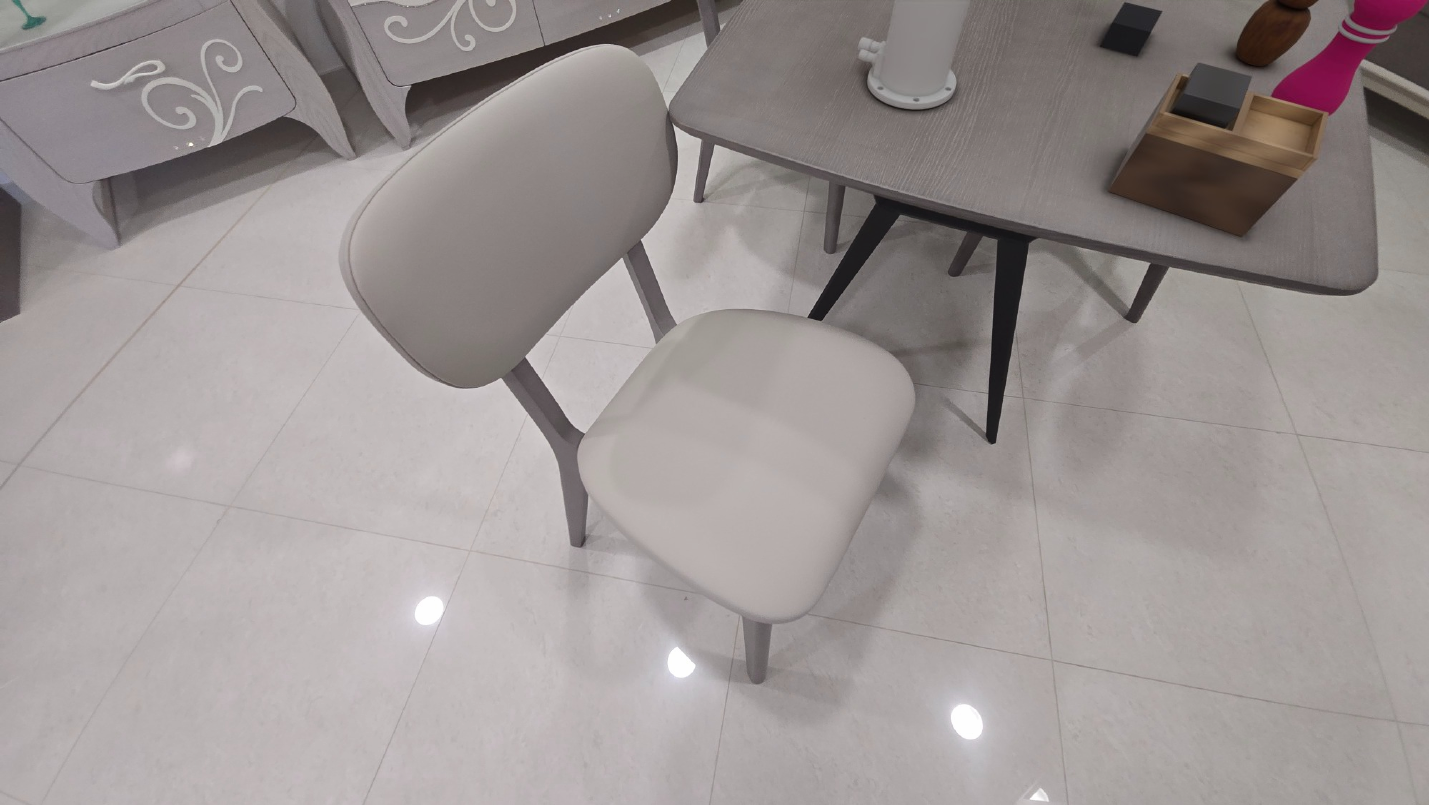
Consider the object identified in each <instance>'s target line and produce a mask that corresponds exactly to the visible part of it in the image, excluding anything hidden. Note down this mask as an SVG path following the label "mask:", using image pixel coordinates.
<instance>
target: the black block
mask: <svg viewBox="0 0 1429 805" xmlns="http://www.w3.org/2000/svg"><path fill="white" fill-rule="evenodd" d="M1163 12H1164V11H1163V10H1159V9H1155V8H1151V7H1147V6H1143V5H1139V4H1135V3H1130V2H1126V1H1124V3H1123V4H1122V6H1121V7H1120V9H1119V10H1118V11H1117V13H1116V15H1115V17H1114V19H1113V20H1112V22H1111V23H1110V25H1109V26H1108V27H1109V28H1108V29H1107V31H1106V33H1105V35H1104V37H1103V39H1102V41H1101V43H1100V45H1099V47H1101V48H1105V49H1109V50H1112V51H1115V52H1119V53H1123V54H1127V55H1131V56H1135V57H1139V55H1140V53H1141V51H1142V49H1143V48H1144V46H1145V44H1146V42H1147V40H1148V39H1149V37H1150V35H1151V33H1152V32H1153V30H1154V29H1155V26H1156V24H1157V22H1158V21H1159V20H1160V17H1161V16H1162V13H1163Z"/></svg>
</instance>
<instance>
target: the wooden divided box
mask: <svg viewBox="0 0 1429 805" xmlns="http://www.w3.org/2000/svg"><path fill="white" fill-rule="evenodd" d="M1252 78H1253V76H1252V75H1249V74H1245V73H1241V72H1237V71H1233V70H1229V69H1226V68H1222V67H1219V66H1215V65H1210V64H1206V63H1204V62H1197V63H1196V64H1195V66H1194V67H1193V69H1192V71H1191V72H1190V74H1186V73H1182V72H1177V73H1176V75H1175V77H1174V78H1173V80H1172V81H1171V82H1170V85H1169V86H1168V87H1167V89H1166V90H1165V92H1164V94H1163V95H1162V97H1161V99H1160V100H1159V102H1158V103H1157V105H1156V107H1155V108H1154V109H1153V111H1152V113H1151V114H1150V116H1149V117H1148V119H1147V120H1146V122H1145V123H1144V125H1143V127H1142V128H1141V130H1140V131H1139V133H1138V134H1137V136H1136V138H1134V141H1133V142H1132V144H1131V146H1130V147H1129V148H1128V150H1127V152H1126V154H1125V156H1124V158H1123V159H1122V162H1121V164H1120V166H1119V168H1118V169H1117V171H1116V174H1115V176H1114V178H1113V180H1112V182H1111V184H1110V186H1109V188H1108V190H1107V191H1108V192H1109V193H1111V194H1115V195H1118V196H1120V197H1123V198H1127V199H1129V200H1133V201H1136V202H1137V203H1138V202H1139V203H1142V204H1144V205H1147V206H1150V207H1154V208H1156V209H1158V210H1162V211H1165V212H1168V213H1171V214H1174V215H1176V216H1179V217H1183V218H1186V219H1189V220H1191V221H1194V222H1197V223H1200V224H1203V225H1206V226H1209V227H1212V228H1215V229H1217V230H1221V231H1223V232H1227V233H1230V234H1232V235H1235V236H1239V237H1244V236H1245V235H1246V234H1247V233H1248V232H1249V231H1250V230H1251V229H1252V228H1253V227H1254V226H1255V225H1256V224H1257V222H1259V221H1260V219H1261V218H1262V217H1264V215H1265V214H1266V213H1268V212H1269V210H1270V209H1272V207H1273V206H1274V205H1275V204H1276V203H1277V202H1278V201H1279V200H1280V199H1281V198H1282V197H1283V196H1284V195H1285V193H1287V191H1288V190H1290V189H1291V187H1293V185H1294V184H1295V183H1296V182H1297V181H1298V180H1299V179H1300V178H1301V177H1302V176H1303V175H1304V174H1305V173H1306V172H1307V170H1309V169H1310V168H1311V167H1312V166H1313V165H1314V164H1315V163H1316V161H1317V160H1318V159H1319V157H1320V156H1319V155H1320V151H1321V147H1322V142H1323V139H1324V134H1325V131H1326V126H1327V123H1328V119H1329V116H1328V115H1329V113H1328V112H1324V111H1321V110H1317V109H1313V108H1309V107H1306V106H1302V105H1298V104H1294V103H1291V102H1287V101H1283V100H1280V99H1276V98H1272V97H1271V96H1268V95H1264V94H1260V93H1258V92H1253V91H1250V90H1248V89H1249V88H1250V84H1251V82H1252Z"/></svg>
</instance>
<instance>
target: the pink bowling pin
mask: <svg viewBox="0 0 1429 805" xmlns="http://www.w3.org/2000/svg"><path fill="white" fill-rule="evenodd" d="M1428 2H1429V0H1354V1H1353V11H1350V12H1348V13H1346V14H1345V16H1344V19H1343V20H1342V21H1341V22H1339V24H1338V25H1337V30H1338V31H1337V33H1336V34H1335V35H1334V37H1333V38H1332V40H1331V41H1330V42H1329V43H1328V44H1327V45H1326V46H1325V48H1324V49H1323V50H1321V51H1319V53H1318V54H1316V55H1315V56H1314V57H1313V58H1311V59H1309V60H1308V61H1307V62H1305V63H1304V64H1302V65H1301V66H1298V67H1297V68H1296V69H1294V70H1292V72H1289V74H1288V75H1286V76H1285V77H1284V78H1282V80H1281V81H1280V82H1279V83H1278V84H1277V85H1276V86H1275V87H1274V89H1273V90H1272V92H1271V95H1270V97H1272V98H1276V99H1280V100H1283V101H1287V102H1291V103H1294V104H1298V105H1302V106H1306V107H1309V108H1313V109H1317V110H1321V111H1324V112H1328V113H1329V115H1328V117H1330V116H1331V115H1333V114H1335V113H1336V112H1337V111H1338V109H1339V108H1340V107H1341V106H1342V104H1343V102H1344V101H1345V100H1346V98H1347V96H1348V94H1349V92H1350V89H1351V86H1352V83H1353V79H1354V77H1355V74H1356V72H1357V70H1358V68H1359V67H1360V65H1361V63H1362V61H1364V59H1365V58H1366V57H1367V56H1368V54H1369V53H1370V52H1371V51H1372V50H1374V48H1376V46H1378V44H1381V43H1384V42H1386V41H1387V40H1388V39H1389V38H1390V36H1391V35H1392V34H1393V33H1395V32H1396V30H1397V29H1398V24H1400V23H1402V22H1405V21H1407V20H1410V19H1411V18H1413V17H1414V16H1415V15H1418V13H1419V12H1420V11H1421V10H1422V9H1423V8H1424V6H1425V5H1426V4H1427V3H1428Z"/></svg>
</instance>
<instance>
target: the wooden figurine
mask: <svg viewBox="0 0 1429 805" xmlns="http://www.w3.org/2000/svg"><path fill="white" fill-rule="evenodd" d="M1318 1H1319V0H1267V1H1265V2H1263V3H1262V4H1261V6H1259V7H1258V8H1257V9H1256V10H1255V11H1254V12H1253V14H1252V15H1251V17H1250V18H1248V20H1247V22H1246V23H1245V25H1244V26H1243V29H1242V30H1241V32H1240V34H1239V36H1238V40H1237V42H1236V48H1235V53H1236V56H1237V58H1238V59H1239V60H1241V61H1242V62H1243V63H1245V64H1248V65H1251V66H1256V67H1264V66H1266V65H1270V64H1272V63H1274V62H1275V61H1276V60H1278V59H1279V58H1280V57H1282V56H1284V55H1285V54H1286V53H1287V52H1288V51H1290V50H1291V49H1292V47H1294V46H1295V45H1296V44H1297V43H1298V41H1299V40H1300V39H1301V38H1302V37H1303V35H1304V34H1305V32H1306V31H1307V30H1308V28H1309V26H1310V23H1311V20H1312V13H1311V9H1310V8H1311V7H1312V6H1314V5H1315V4H1316V3H1317V2H1318Z"/></svg>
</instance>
